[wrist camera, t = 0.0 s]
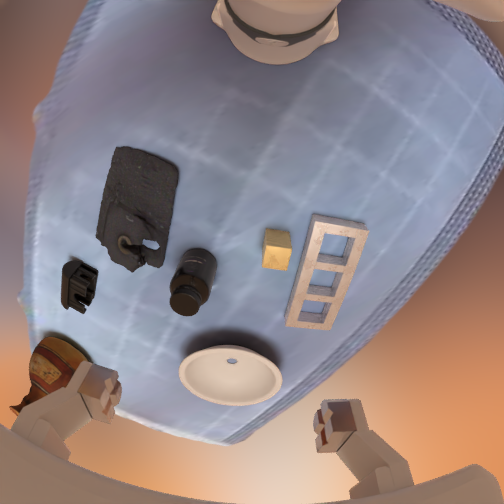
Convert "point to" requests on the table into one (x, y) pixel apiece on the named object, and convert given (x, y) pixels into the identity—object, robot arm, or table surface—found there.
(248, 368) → the soup bowl
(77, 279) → the end cap
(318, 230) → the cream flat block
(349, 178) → the table surface
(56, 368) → the ceramic pitcher
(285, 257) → the golden yellow block
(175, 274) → the supplement bottle
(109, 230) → the dark slate chunk
